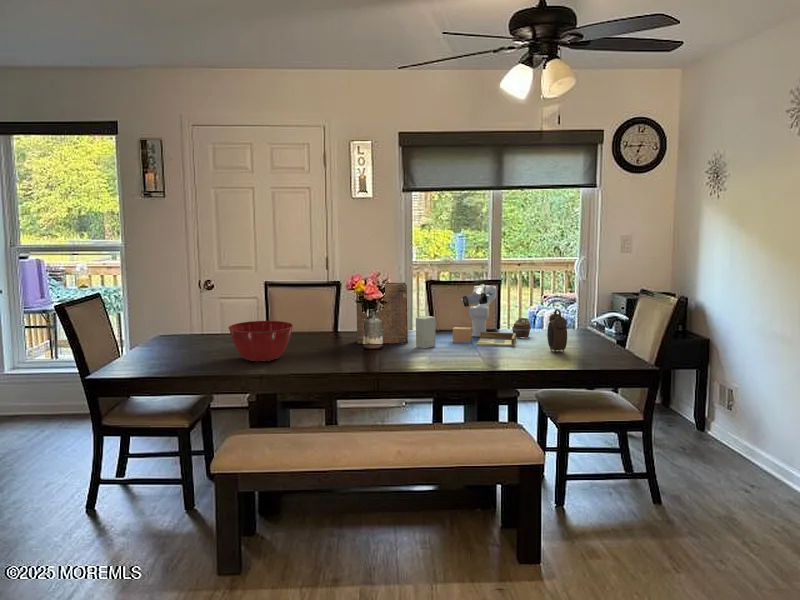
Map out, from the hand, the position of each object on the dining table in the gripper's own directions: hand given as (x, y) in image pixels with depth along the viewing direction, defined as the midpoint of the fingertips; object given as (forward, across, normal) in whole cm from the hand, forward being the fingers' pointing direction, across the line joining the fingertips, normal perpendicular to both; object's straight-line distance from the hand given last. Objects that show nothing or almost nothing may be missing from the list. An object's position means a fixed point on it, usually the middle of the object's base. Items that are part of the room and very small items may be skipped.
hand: (472, 303), depth 321 cm
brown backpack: (+16, +38, +25) cm, 48 cm away
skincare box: (+19, -23, +13) cm, 33 cm away
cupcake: (-19, +17, +27) cm, 37 cm away
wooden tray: (+2, +8, +22) cm, 23 cm away
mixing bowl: (+63, -85, -6) cm, 106 cm away
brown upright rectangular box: (+13, -47, +10) cm, 50 cm away
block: (+1, -9, +19) cm, 21 cm away
